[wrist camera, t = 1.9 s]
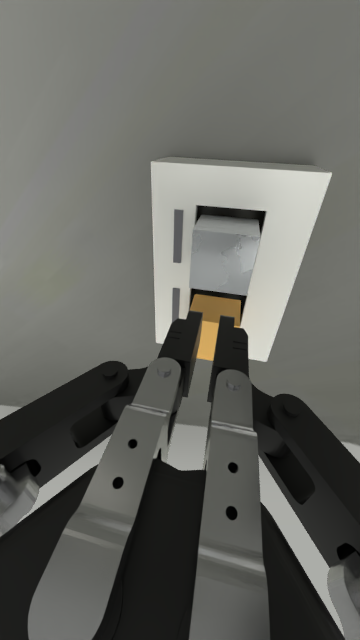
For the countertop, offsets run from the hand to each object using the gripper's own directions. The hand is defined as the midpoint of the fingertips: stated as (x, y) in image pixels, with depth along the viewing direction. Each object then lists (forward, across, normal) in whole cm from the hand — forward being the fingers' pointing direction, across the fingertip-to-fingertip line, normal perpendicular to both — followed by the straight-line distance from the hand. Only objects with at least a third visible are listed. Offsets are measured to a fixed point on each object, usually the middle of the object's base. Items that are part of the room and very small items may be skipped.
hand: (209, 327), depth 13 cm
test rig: (+19, 0, +4) cm, 19 cm away
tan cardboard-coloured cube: (+13, 0, +8) cm, 15 cm away
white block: (+13, 0, 0) cm, 13 cm away
